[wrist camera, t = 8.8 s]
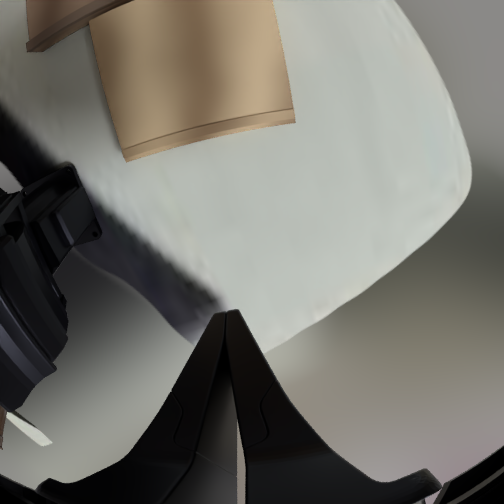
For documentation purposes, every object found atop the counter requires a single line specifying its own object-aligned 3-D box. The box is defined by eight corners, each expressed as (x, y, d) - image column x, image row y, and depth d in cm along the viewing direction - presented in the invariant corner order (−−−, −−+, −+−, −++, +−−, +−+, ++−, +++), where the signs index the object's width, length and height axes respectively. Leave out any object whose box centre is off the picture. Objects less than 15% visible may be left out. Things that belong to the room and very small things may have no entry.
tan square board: (133, 156, 17) (125, 163, 16) (98, 23, 11) (87, 20, 10) (290, 119, 17) (295, 122, 16) (262, -22, 11) (265, -30, 9)
